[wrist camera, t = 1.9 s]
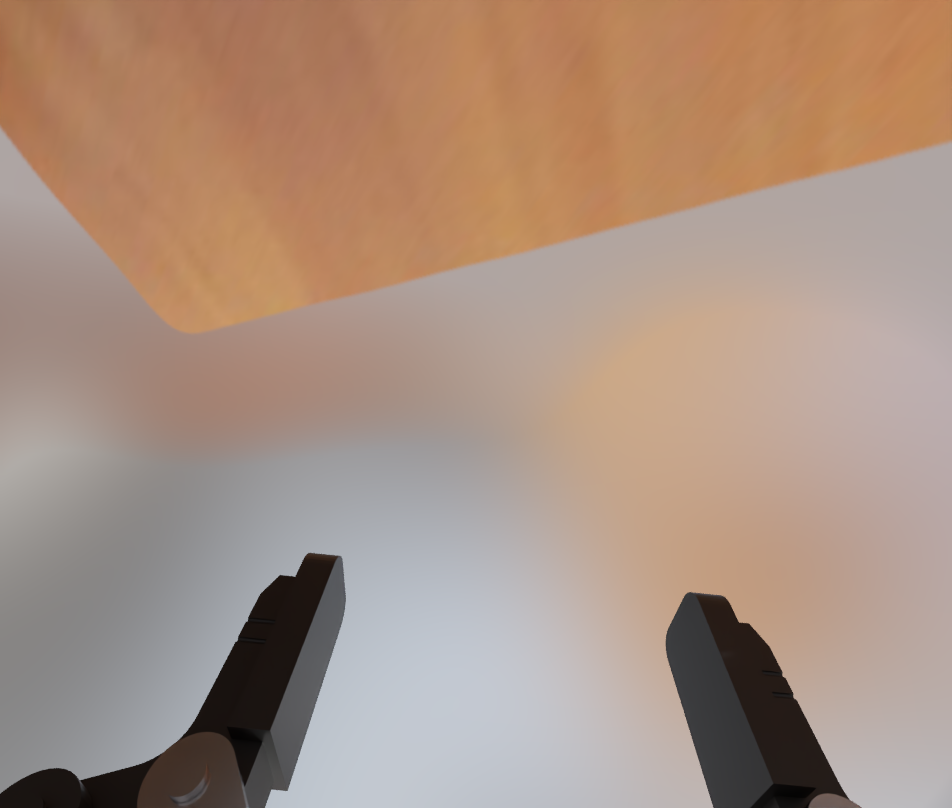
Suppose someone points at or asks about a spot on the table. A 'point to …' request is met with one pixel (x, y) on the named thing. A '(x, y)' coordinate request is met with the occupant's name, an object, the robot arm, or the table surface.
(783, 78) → the table surface
